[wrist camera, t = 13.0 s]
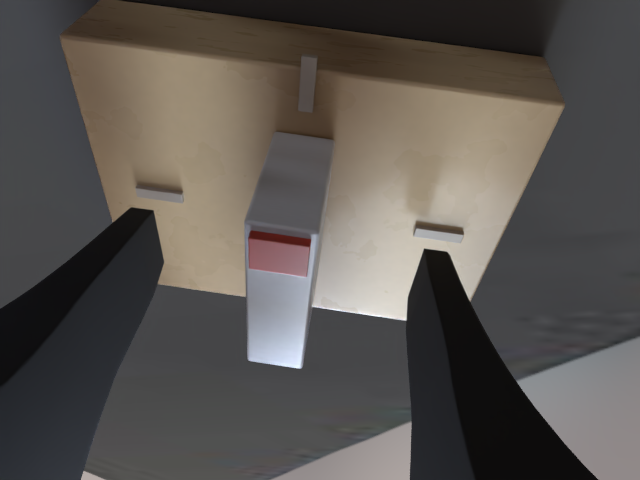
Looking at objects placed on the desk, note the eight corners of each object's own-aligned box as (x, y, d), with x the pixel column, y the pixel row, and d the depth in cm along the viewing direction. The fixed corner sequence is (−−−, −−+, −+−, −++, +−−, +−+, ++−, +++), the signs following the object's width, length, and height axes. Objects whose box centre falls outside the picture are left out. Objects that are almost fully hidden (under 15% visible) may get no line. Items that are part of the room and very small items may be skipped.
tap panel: (154, 239, 20) (128, 290, 18) (98, -18, 13) (48, 22, 11) (451, 282, 20) (455, 338, 18) (551, 43, 13) (576, 93, 11)
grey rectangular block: (317, 277, 17) (301, 377, 14) (269, 270, 17) (245, 369, 14) (335, 138, 13) (318, 240, 10) (274, 129, 13) (240, 229, 10)
